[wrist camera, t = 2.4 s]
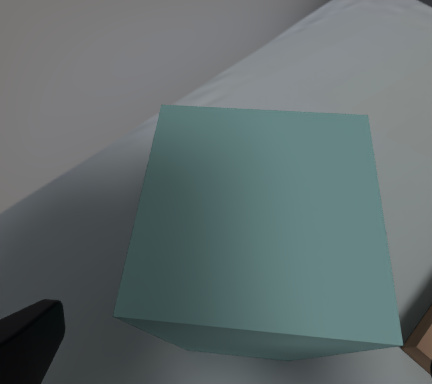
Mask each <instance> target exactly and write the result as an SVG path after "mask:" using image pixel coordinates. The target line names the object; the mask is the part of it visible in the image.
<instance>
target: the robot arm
mask: <svg viewBox="0 0 432 384" xmlns="http://www.w3.org/2000/svg"><path fill="white" fill-rule="evenodd" d="M64 334H65V321H64V312H63V305H62V303H61V301H59V300H50V299H44V300H41V301H39V302H37V303H35V304H33V305H30V306H28V307H26V308H24V309H22V310H20V311H18V312H16V313H13V314H11V315H9V316H7V317H5V318H3V319H1V320H0V384H41V383H42V381H43V379H44V376H45V374H46V372H47V370H48V368H49V366H50V364H51V362H52V360H53V358H54V356H55V354H56V352H57V350H58V348H59V346H60V344H61V342H62V340H63V337H64ZM430 372H431V376H432V360H431V364H430Z"/></svg>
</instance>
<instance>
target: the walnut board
mask: <svg viewBox="0 0 432 384" xmlns="http://www.w3.org/2000/svg"><path fill="white" fill-rule="evenodd" d="M401 349H402V350H403V351H404V352H405V353H407V354H408V355H409V356H410V357H411V358H412V359H413V360H415V361H416V362H417V363H418V364H419V365H420V366H421V367H423V368H424V369H425V370H426V371H427V372H428V373H429V374H431V372H430V364H431V360H432V305H431V306H430V308H429V309H428V311H427V312H426V313H425V315H424V316H423V318H422V319H421V321H420V322H419V323H418V325H417V326H416V328H415V329H414V331H413V332H412V334H411V335H410V336H409V338H408V339H407V341H406V342H405V344H404V345H403V346H402V348H401Z"/></svg>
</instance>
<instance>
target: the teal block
mask: <svg viewBox="0 0 432 384" xmlns="http://www.w3.org/2000/svg"><path fill="white" fill-rule="evenodd" d="M113 317H115V318H117V319H120V320H122V321H124V322H126V323H128V324H131V325H133V326H135V327H137V328H139V329H142V330H144V331H146V332H148V333H150V334H153V335H155V336H157V337H159V338H162V339H164V340H166V341H168V342H170V343H173V344H175V345H177V346H179V347H181V348H184V349H186V350H190V351H200V352H209V353H219V354H228V355H237V356H247V357H256V358H265V359H275V360H284V361H292V360H300V359H307V358H315V357H322V356H330V355H337V354H345V353H352V352H360V351H367V350H374V349H382V348H389V347H397V346H403V340H402V334H401V327H400V321H399V314H398V308H397V301H396V295H395V288H394V282H393V275H392V269H391V262H390V256H389V249H388V242H387V236H386V229H385V223H384V216H383V210H382V203H381V197H380V190H379V184H378V177H377V171H376V164H375V158H374V151H373V145H372V138H371V132H370V125H369V119H368V115H355V114H335V113H315V112H295V111H275V110H256V109H236V108H216V107H196V106H176V105H161V109H160V113H159V118H158V122H157V126H156V131H155V135H154V139H153V144H152V148H151V152H150V157H149V161H148V165H147V170H146V174H145V178H144V183H143V187H142V191H141V196H140V200H139V204H138V209H137V213H136V217H135V222H134V226H133V230H132V235H131V239H130V243H129V248H128V252H127V256H126V261H125V265H124V269H123V274H122V278H121V282H120V287H119V291H118V296H117V300H116V304H115V309H114V313H113Z"/></svg>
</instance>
